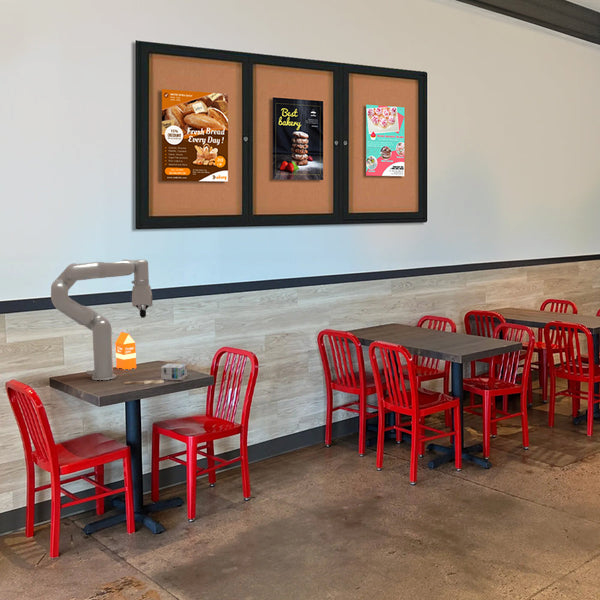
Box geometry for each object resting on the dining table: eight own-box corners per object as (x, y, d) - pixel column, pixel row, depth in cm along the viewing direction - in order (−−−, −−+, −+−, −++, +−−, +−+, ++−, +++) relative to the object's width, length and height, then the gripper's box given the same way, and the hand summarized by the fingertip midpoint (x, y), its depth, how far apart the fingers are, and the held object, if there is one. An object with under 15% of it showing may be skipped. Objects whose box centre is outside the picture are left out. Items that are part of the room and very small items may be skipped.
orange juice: (124, 370, 417) (122, 334, 415) (116, 367, 424) (114, 332, 421) (136, 368, 423) (135, 332, 420) (128, 365, 429) (127, 330, 427)
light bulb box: (160, 379, 391) (180, 380, 390) (160, 366, 391) (180, 367, 389) (168, 375, 402) (187, 376, 400) (167, 362, 401) (187, 363, 399)
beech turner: (123, 385, 381) (123, 383, 381) (123, 382, 387) (123, 381, 387) (163, 383, 386) (163, 381, 385) (163, 380, 391) (163, 379, 391)
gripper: (125, 283, 396) (127, 318, 398) (153, 283, 395) (155, 318, 398) (129, 282, 403) (131, 316, 406) (157, 282, 403) (158, 316, 405)
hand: (143, 317), depth 402 cm, fingers closed
